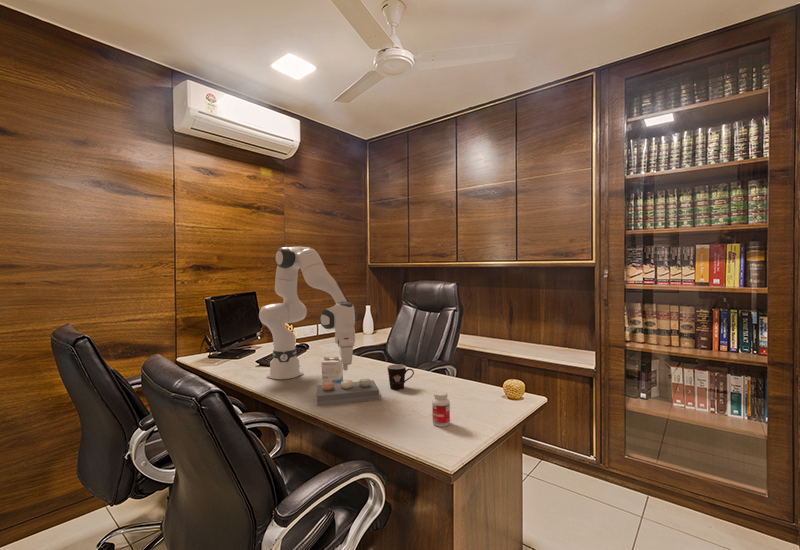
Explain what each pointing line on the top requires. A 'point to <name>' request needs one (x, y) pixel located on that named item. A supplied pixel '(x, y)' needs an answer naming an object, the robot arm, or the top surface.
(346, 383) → the cream button
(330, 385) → the terracotta button
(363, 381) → the sage button
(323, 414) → the top surface
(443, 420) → the pill bottle
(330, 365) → the ink box
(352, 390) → the console
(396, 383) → the coffee mug
